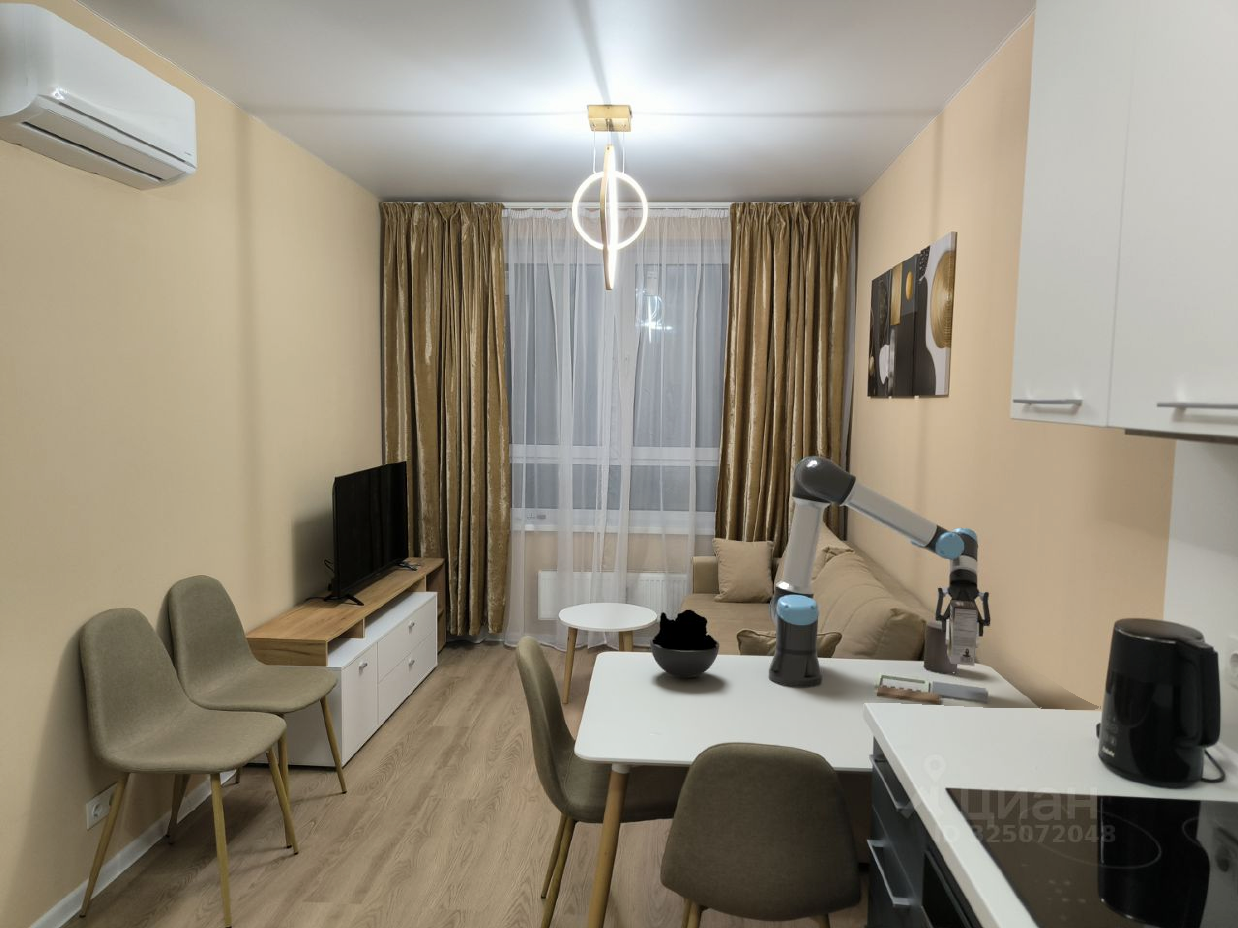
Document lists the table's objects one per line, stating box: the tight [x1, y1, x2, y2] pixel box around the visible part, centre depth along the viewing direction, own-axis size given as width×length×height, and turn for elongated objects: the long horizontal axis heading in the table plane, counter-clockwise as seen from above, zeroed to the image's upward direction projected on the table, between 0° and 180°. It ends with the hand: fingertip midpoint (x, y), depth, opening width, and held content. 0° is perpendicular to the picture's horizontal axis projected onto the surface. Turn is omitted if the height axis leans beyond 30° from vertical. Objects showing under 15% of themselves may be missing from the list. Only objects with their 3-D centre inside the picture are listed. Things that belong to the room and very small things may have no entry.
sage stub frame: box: [874, 672, 930, 693], centre depth 230 cm, size 14×12×1 cm
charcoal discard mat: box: [931, 681, 989, 704], centre depth 224 cm, size 14×12×1 cm
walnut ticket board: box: [876, 685, 941, 706], centre depth 220 cm, size 16×6×1 cm, turn 68°
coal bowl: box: [649, 609, 720, 679], centre depth 232 cm, size 20×20×19 cm
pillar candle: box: [923, 620, 958, 674], centre depth 247 cm, size 10×10×15 cm
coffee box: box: [947, 599, 979, 667], centre depth 223 cm, size 9×6×16 cm
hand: (962, 643), depth 220 cm, fingers closed on coffee box, 7 cm apart
